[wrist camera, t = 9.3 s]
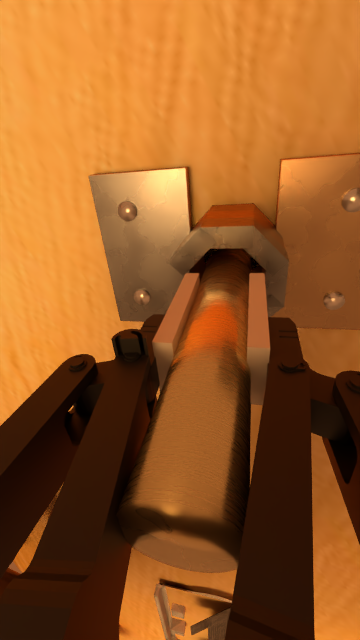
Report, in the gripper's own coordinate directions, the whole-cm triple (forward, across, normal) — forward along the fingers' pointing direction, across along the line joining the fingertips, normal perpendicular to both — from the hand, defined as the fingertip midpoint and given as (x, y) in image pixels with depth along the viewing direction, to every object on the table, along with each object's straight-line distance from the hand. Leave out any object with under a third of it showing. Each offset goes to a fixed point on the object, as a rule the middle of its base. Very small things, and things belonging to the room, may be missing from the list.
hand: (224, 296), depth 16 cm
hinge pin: (+4, 0, 0) cm, 4 cm away
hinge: (+8, 0, 0) cm, 8 cm away
